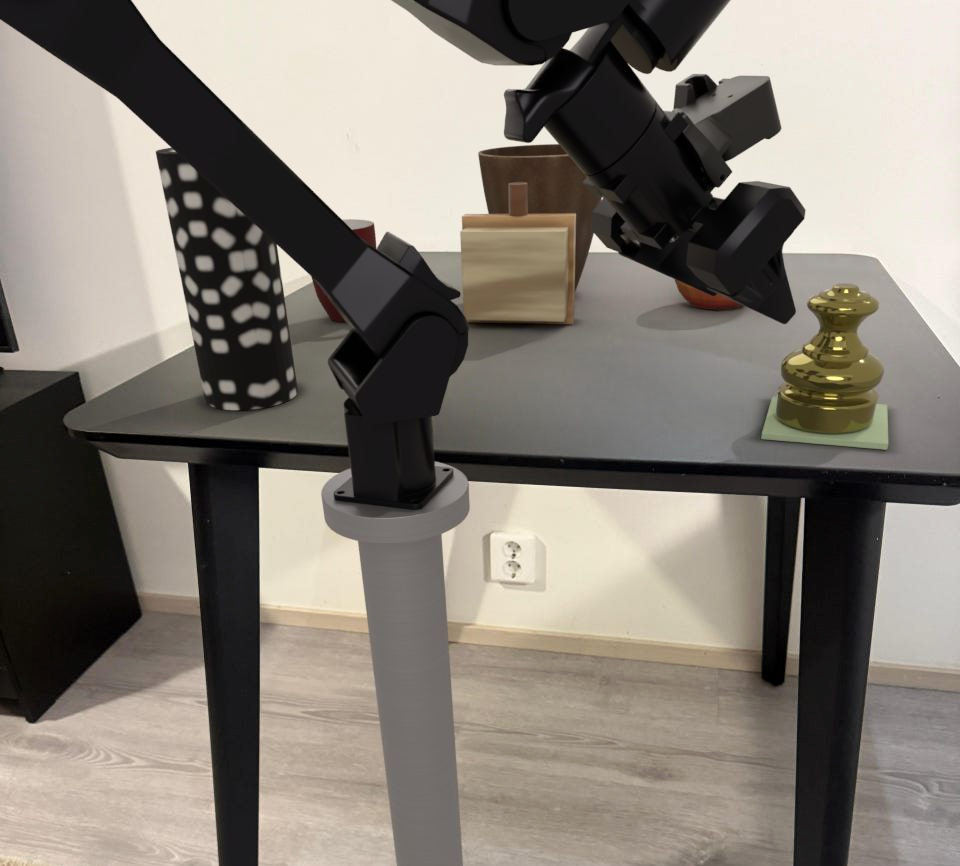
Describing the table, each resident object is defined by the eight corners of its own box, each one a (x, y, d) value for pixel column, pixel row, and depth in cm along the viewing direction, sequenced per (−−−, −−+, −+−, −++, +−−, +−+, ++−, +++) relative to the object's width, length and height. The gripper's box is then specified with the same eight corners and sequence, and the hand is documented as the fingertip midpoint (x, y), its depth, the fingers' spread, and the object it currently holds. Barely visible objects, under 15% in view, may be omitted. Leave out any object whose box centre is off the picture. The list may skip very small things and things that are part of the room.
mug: (412, 312, 109) (406, 220, 103) (385, 329, 102) (377, 232, 97) (332, 308, 112) (321, 218, 106) (300, 325, 105) (287, 230, 100)
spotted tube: (188, 408, 82) (134, 154, 71) (231, 380, 88) (188, 144, 78) (274, 412, 80) (233, 152, 69) (311, 383, 87) (279, 142, 76)
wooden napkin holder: (568, 331, 99) (570, 187, 91) (459, 329, 101) (453, 188, 94) (574, 320, 103) (577, 181, 95) (469, 318, 105) (464, 182, 97)
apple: (719, 320, 100) (727, 241, 96) (654, 305, 107) (659, 231, 103) (777, 305, 105) (788, 229, 101) (712, 291, 112) (719, 220, 108)
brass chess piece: (823, 398, 76) (844, 270, 71) (895, 424, 71) (924, 287, 65) (753, 414, 74) (770, 283, 68) (822, 443, 68) (847, 302, 63)
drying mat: (887, 450, 68) (888, 443, 68) (761, 439, 70) (761, 433, 70) (886, 410, 75) (887, 404, 75) (771, 402, 78) (772, 396, 77)
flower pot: (457, 297, 114) (451, 152, 105) (543, 277, 122) (543, 140, 113) (543, 317, 104) (543, 158, 96) (629, 293, 113) (637, 145, 104)
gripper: (802, 17, 48) (929, 229, 56) (639, 28, 63) (759, 194, 71) (654, 196, 50) (798, 373, 59) (531, 165, 65) (660, 310, 74)
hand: (752, 303), depth 66 cm, fingers open, 9 cm apart
